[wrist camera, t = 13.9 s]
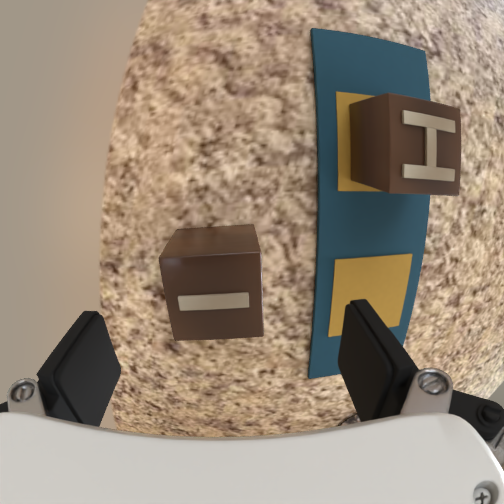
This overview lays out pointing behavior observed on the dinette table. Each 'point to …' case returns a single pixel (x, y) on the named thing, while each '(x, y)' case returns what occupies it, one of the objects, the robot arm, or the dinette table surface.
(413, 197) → the word mat
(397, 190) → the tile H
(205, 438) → the robot arm
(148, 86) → the dinette table surface
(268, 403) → the dinette table surface
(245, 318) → the tile
